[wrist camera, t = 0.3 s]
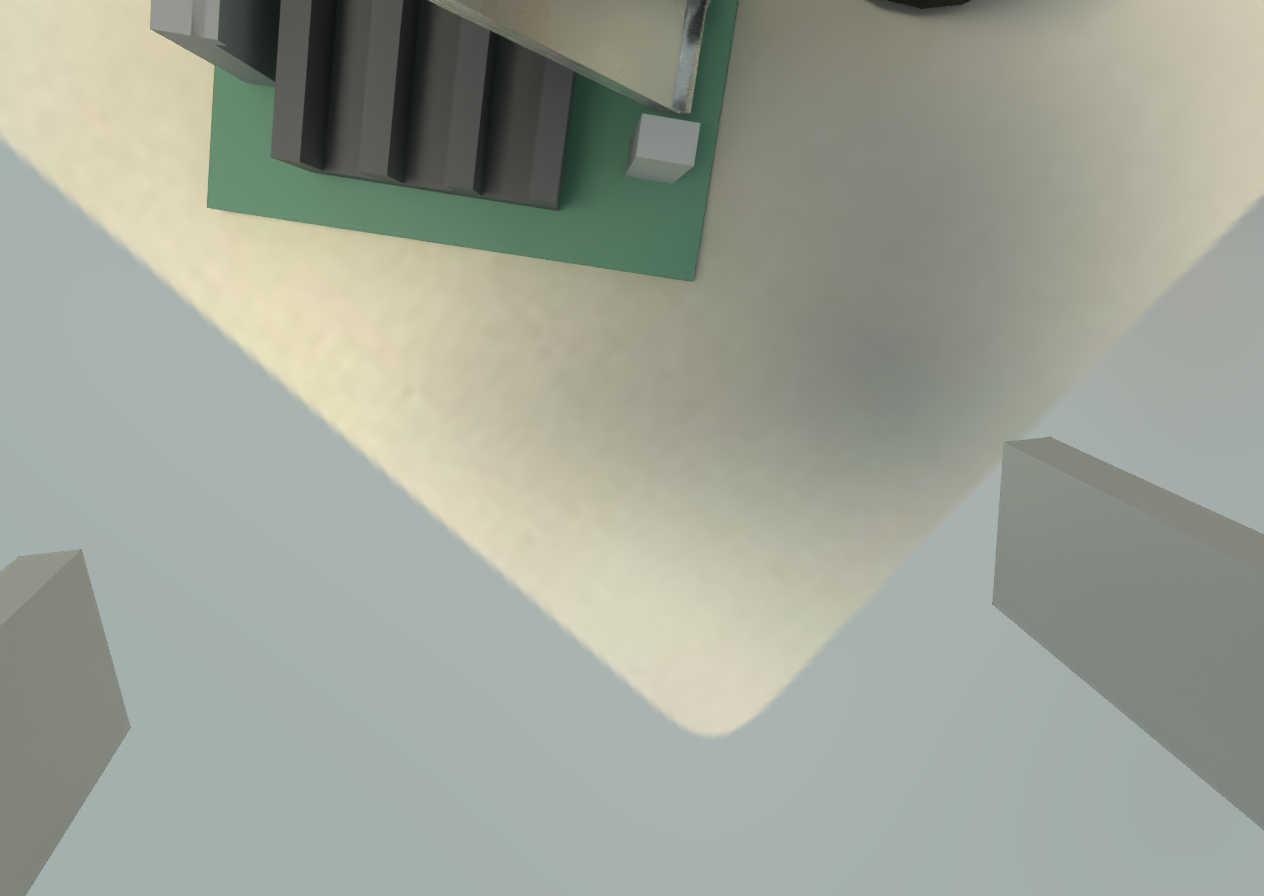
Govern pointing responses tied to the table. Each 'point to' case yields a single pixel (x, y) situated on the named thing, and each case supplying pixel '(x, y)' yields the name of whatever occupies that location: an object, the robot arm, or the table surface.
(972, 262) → the table surface
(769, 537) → the table surface
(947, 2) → the coffee jar
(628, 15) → the silver flat bar
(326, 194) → the cpu board
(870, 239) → the table surface
